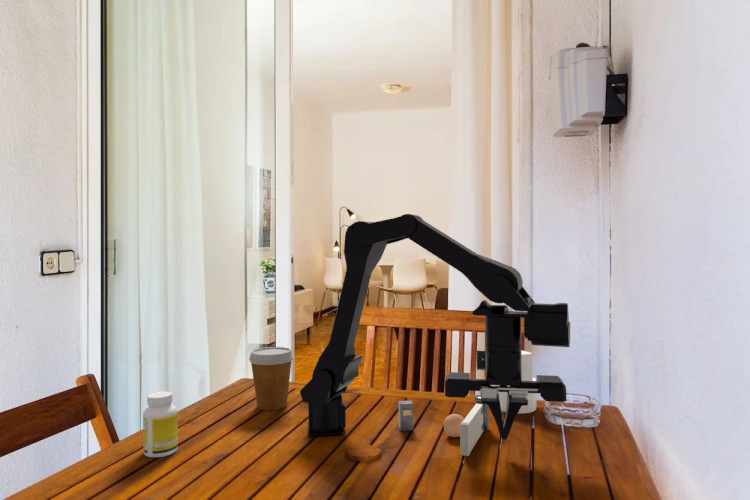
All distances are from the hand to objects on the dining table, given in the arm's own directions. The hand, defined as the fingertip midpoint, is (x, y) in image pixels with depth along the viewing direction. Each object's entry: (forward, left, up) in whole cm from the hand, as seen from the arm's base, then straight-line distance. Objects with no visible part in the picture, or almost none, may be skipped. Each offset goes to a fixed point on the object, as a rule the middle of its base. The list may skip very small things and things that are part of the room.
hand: (504, 438), depth 87 cm
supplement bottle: (-57, +10, -3) cm, 58 cm away
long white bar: (-4, +6, -2) cm, 7 cm away
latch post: (-14, +15, -3) cm, 20 cm away
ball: (-6, +10, -3) cm, 11 cm away
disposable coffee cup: (-40, +33, -3) cm, 52 cm away
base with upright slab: (+11, +24, -3) cm, 27 cm away
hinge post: (0, +12, -3) cm, 13 cm away
